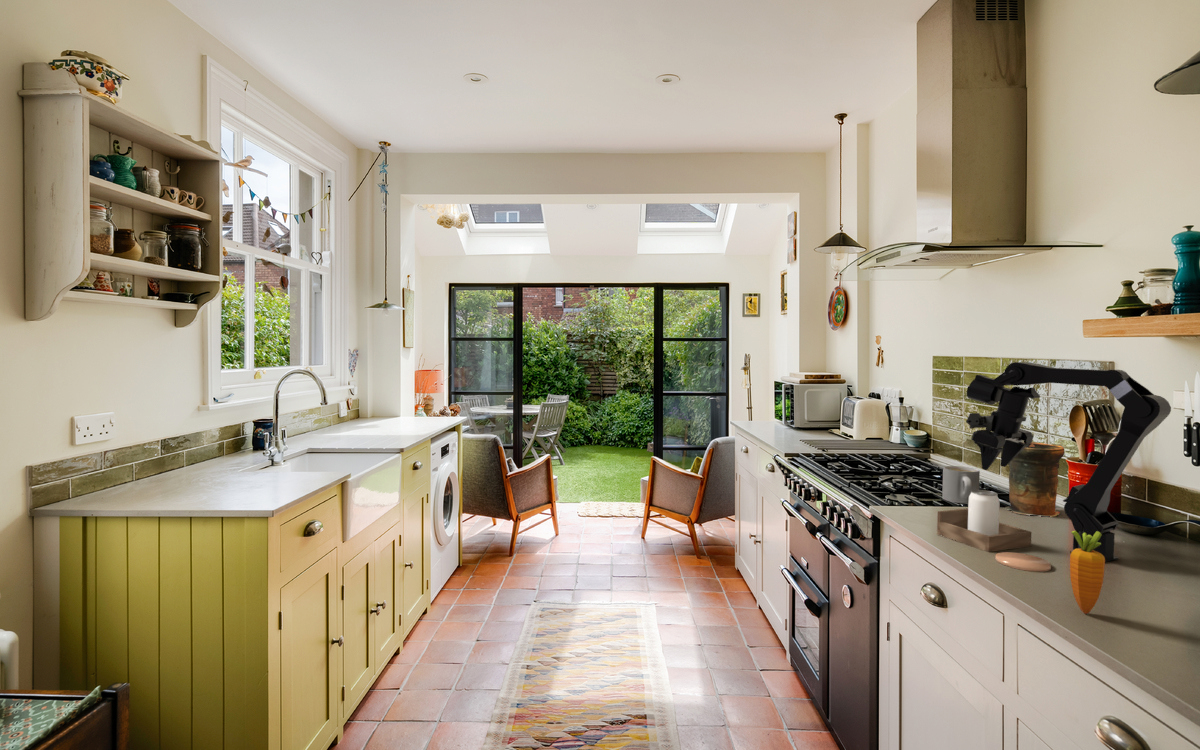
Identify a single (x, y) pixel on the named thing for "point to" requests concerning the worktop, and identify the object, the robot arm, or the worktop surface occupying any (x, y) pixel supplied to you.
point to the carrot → (1087, 571)
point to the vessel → (1035, 479)
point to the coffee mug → (959, 483)
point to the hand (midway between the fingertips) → (993, 467)
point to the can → (983, 512)
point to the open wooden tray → (957, 529)
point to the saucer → (1023, 561)
